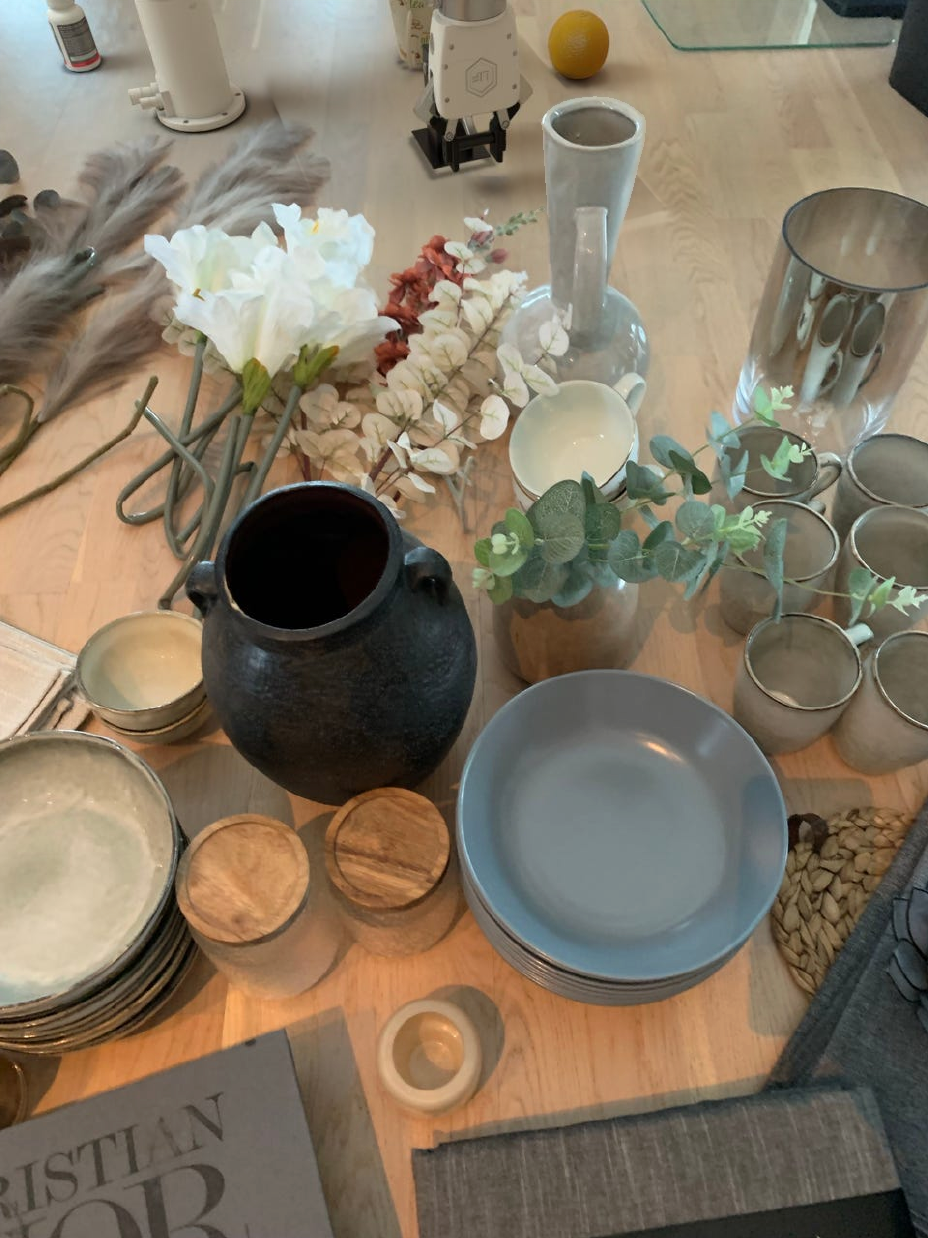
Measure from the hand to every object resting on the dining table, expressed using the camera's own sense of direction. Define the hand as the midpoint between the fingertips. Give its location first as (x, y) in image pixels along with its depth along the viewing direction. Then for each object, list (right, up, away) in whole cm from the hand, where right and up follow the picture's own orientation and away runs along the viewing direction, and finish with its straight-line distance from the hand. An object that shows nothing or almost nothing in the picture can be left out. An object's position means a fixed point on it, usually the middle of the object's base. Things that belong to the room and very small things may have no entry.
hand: (474, 160), depth 108 cm
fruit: (+15, +23, +19) cm, 33 cm away
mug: (-8, +25, +22) cm, 34 cm away
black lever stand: (-3, +6, +9) cm, 11 cm away
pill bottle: (-60, +28, +25) cm, 71 cm away
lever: (-2, +7, 0) cm, 7 cm away
